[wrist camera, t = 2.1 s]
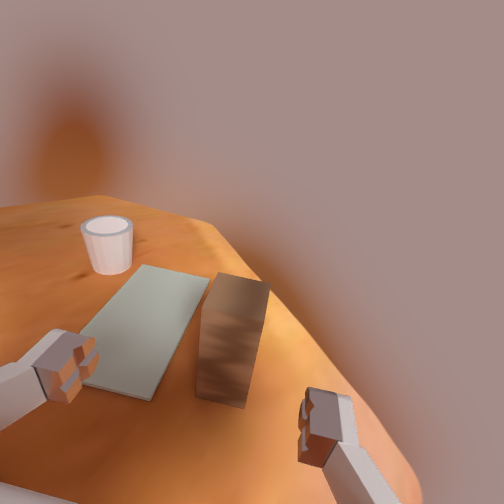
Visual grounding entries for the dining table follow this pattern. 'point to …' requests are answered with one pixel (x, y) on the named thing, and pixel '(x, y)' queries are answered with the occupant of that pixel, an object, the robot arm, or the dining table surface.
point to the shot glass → (108, 243)
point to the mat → (142, 330)
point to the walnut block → (230, 338)
